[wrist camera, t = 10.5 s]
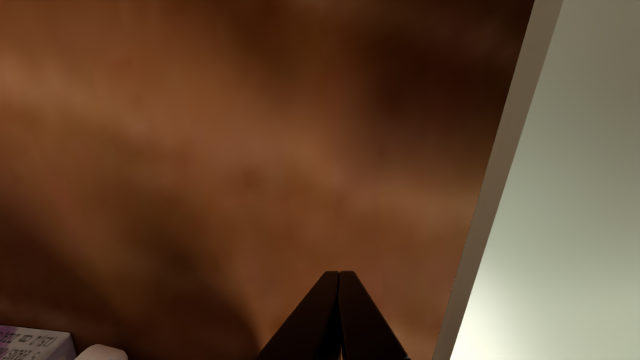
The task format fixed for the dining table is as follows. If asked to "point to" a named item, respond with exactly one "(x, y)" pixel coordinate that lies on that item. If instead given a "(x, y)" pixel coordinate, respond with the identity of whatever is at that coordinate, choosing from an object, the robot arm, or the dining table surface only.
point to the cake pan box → (35, 344)
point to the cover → (558, 199)
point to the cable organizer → (102, 353)
